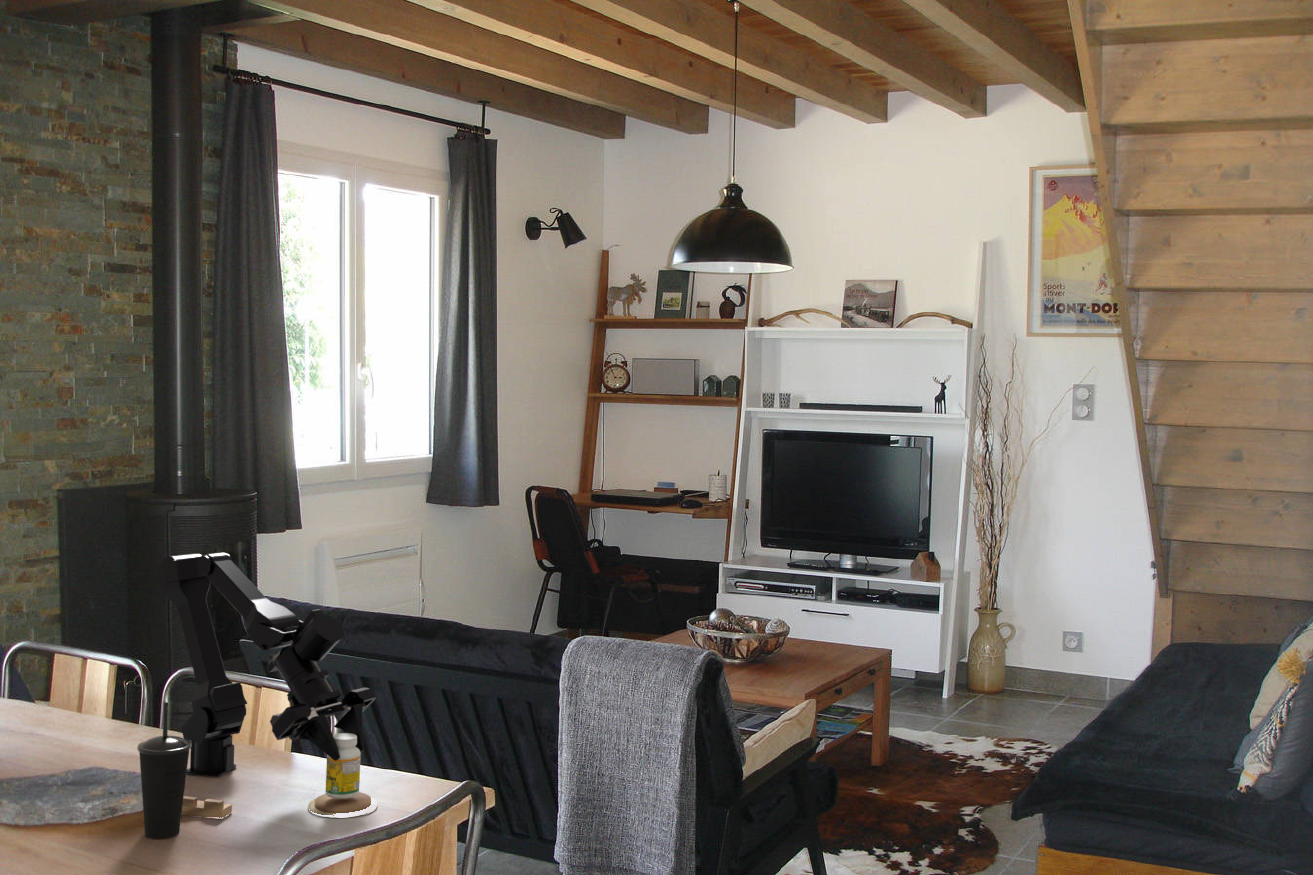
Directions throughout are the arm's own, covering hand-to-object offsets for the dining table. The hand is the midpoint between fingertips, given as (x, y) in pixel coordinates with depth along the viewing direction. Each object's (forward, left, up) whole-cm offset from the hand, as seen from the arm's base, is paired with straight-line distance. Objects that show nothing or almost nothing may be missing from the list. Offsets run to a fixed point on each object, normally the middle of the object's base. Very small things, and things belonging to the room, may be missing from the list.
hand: (350, 755), depth 202 cm
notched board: (-20, -10, -9) cm, 24 cm away
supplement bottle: (-1, 0, -7) cm, 7 cm away
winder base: (-1, 0, -9) cm, 9 cm away
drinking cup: (-21, -19, -9) cm, 30 cm away
